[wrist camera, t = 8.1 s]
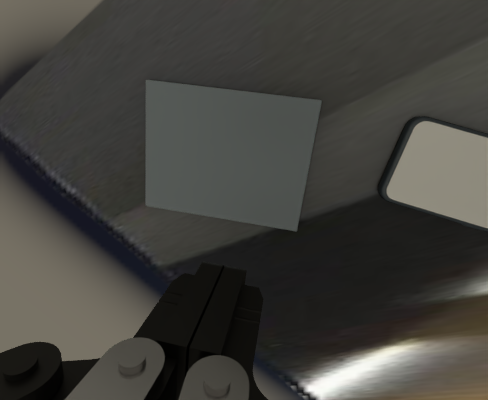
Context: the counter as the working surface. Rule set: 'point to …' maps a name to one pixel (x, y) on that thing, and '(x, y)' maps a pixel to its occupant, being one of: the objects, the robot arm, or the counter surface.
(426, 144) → the smartphone
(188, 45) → the counter surface
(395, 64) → the counter surface
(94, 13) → the counter surface
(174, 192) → the mat
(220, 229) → the counter surface
